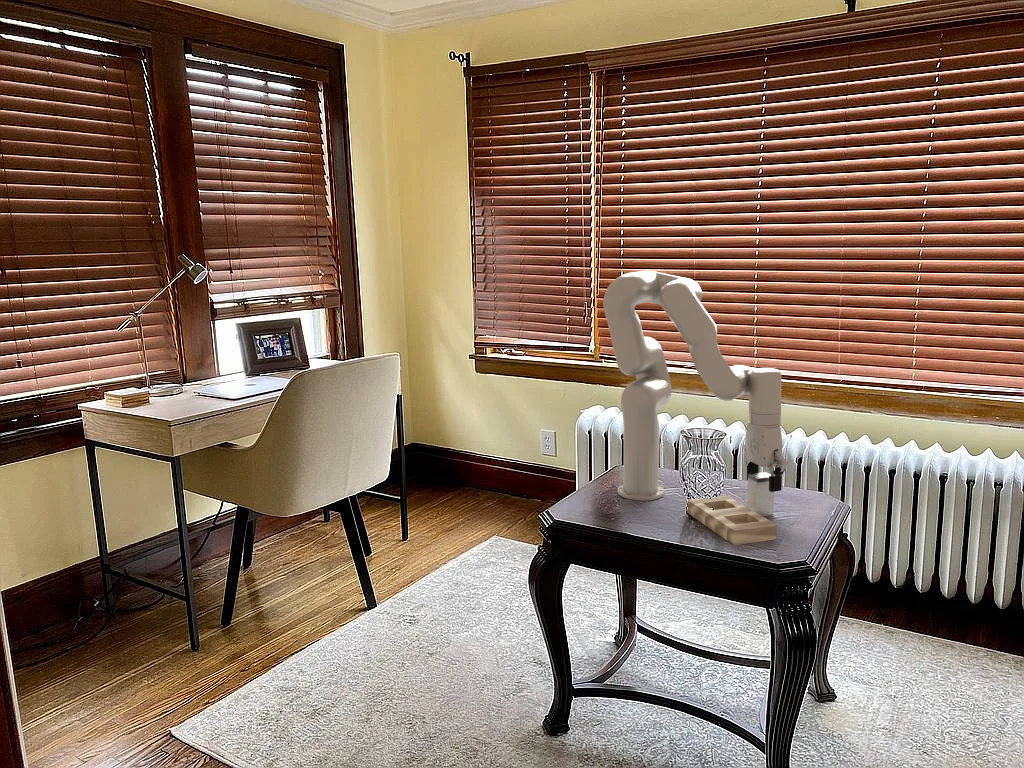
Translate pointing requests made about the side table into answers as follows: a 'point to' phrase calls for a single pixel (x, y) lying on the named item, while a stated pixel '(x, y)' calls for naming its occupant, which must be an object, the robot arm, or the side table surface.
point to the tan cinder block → (732, 520)
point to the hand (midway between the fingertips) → (763, 485)
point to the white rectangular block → (760, 494)
